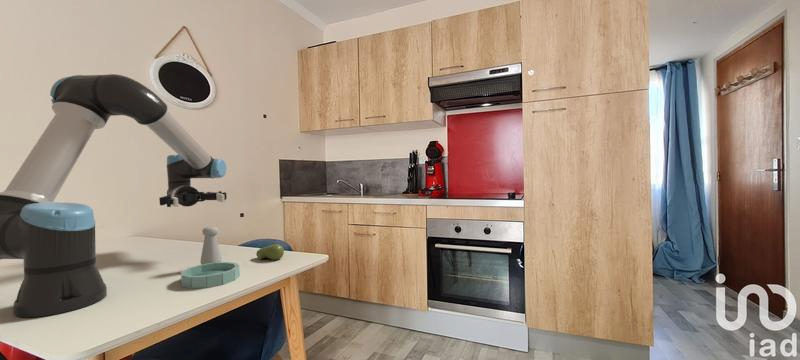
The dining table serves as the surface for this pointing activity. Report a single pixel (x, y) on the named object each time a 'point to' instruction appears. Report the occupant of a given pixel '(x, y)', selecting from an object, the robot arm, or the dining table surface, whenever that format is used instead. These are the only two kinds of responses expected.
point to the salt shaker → (210, 246)
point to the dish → (209, 275)
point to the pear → (271, 252)
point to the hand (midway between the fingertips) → (201, 200)
